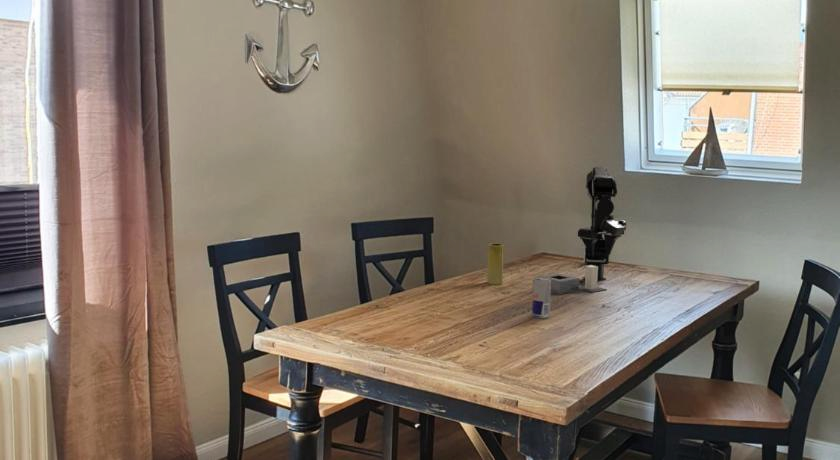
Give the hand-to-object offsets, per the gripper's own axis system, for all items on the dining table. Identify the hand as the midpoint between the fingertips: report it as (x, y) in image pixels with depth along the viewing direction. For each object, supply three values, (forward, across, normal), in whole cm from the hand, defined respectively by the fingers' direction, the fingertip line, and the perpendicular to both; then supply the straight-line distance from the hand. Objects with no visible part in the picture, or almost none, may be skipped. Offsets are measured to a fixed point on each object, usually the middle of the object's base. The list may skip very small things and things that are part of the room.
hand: (600, 255), depth 304 cm
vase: (+12, -24, +28) cm, 39 cm away
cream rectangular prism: (+12, -3, +1) cm, 12 cm away
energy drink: (+12, -46, -16) cm, 50 cm away
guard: (+12, -13, +7) cm, 19 cm away
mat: (+12, -3, +1) cm, 12 cm away
